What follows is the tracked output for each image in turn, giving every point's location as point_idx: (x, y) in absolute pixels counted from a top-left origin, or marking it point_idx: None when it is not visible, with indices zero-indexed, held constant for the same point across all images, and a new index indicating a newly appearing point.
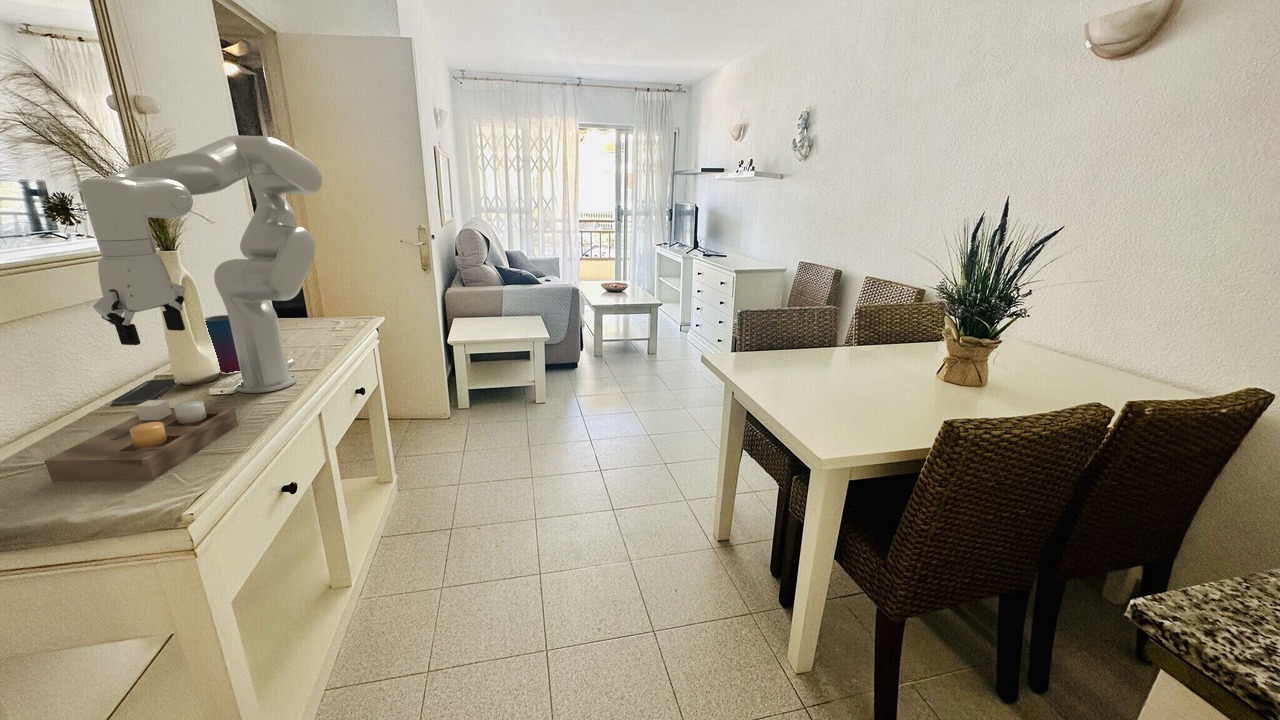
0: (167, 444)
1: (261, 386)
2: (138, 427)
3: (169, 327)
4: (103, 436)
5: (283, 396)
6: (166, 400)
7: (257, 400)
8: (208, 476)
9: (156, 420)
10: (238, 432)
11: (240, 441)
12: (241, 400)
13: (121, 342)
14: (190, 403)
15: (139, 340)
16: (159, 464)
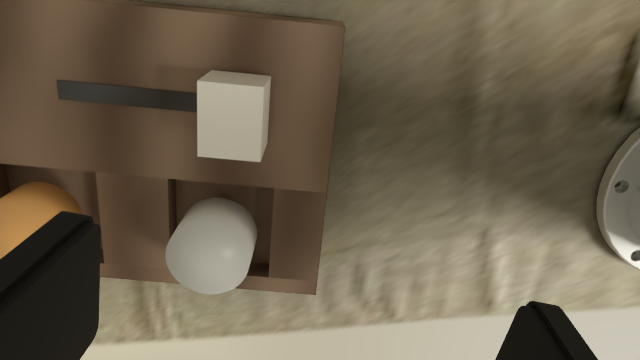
0: None
1: (630, 208)
2: (7, 222)
3: (521, 337)
4: (79, 35)
5: (540, 280)
6: (255, 160)
7: (523, 222)
8: None
9: None
10: None
11: (208, 309)
12: (538, 173)
13: (60, 218)
14: (221, 257)
15: (81, 351)
16: None
